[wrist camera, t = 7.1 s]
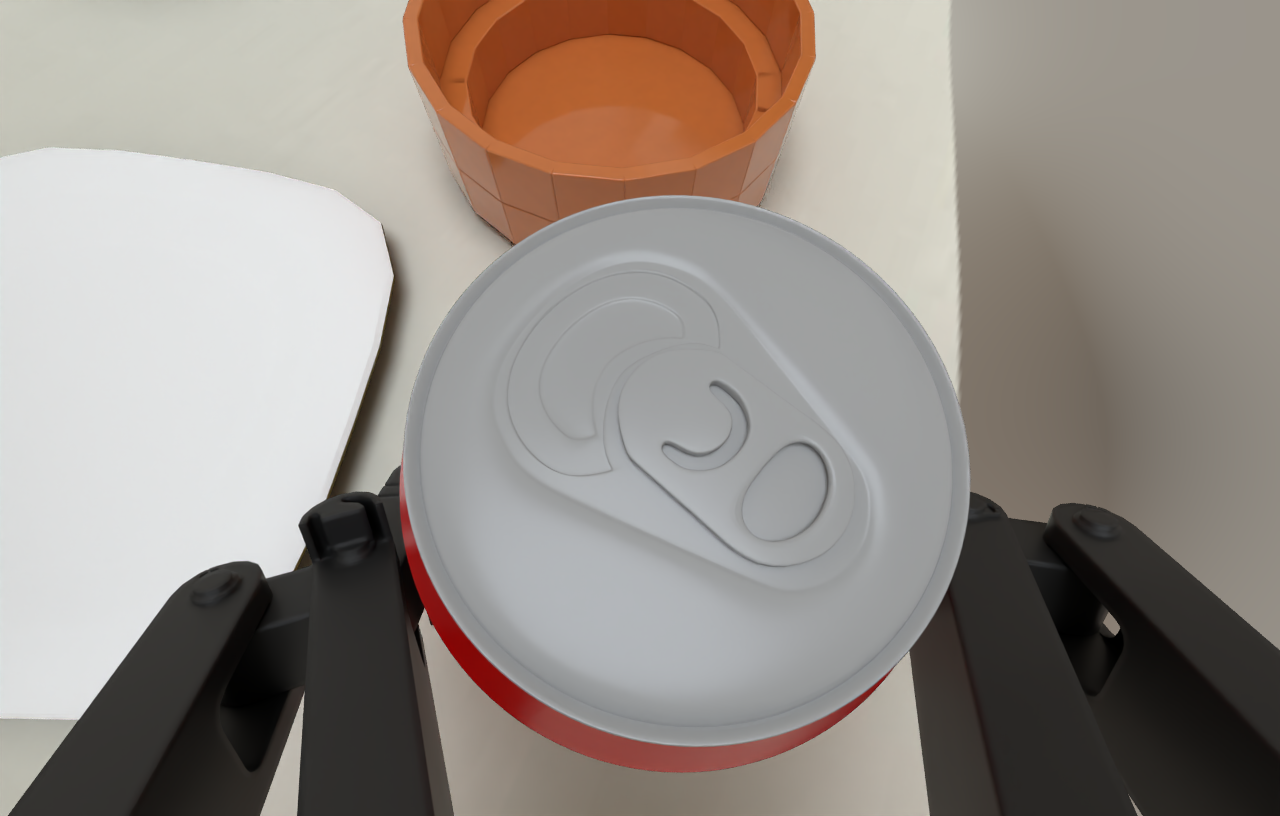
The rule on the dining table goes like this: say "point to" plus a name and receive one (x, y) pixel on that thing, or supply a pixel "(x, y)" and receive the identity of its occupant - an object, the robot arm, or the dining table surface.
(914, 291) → the dining table surface
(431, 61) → the bowl
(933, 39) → the dining table surface
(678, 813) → the dining table surface
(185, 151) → the dining table surface
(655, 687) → the soda can
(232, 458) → the plate
